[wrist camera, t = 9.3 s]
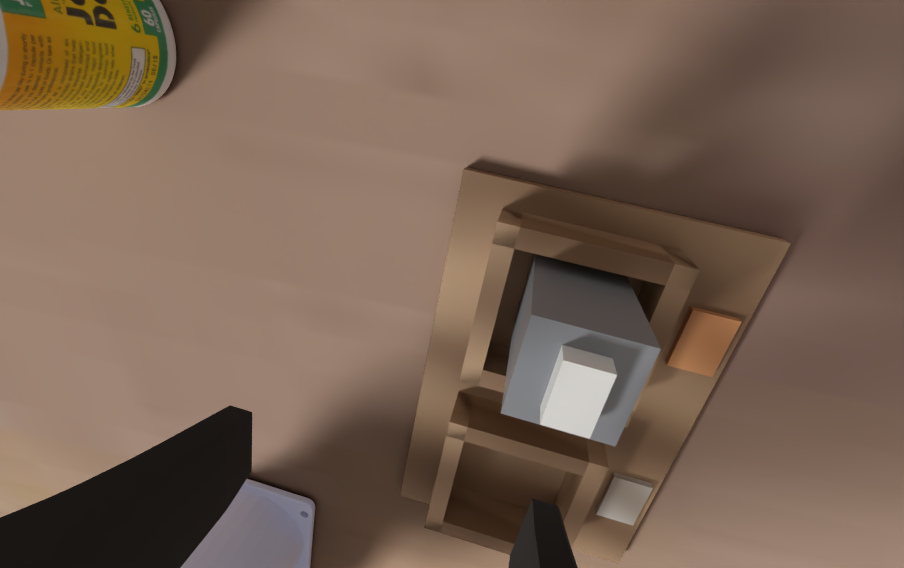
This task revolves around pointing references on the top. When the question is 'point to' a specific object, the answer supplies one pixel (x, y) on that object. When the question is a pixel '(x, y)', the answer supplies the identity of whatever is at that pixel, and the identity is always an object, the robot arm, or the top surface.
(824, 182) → the top surface
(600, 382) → the plug
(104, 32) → the supplement bottle
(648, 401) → the socket board
